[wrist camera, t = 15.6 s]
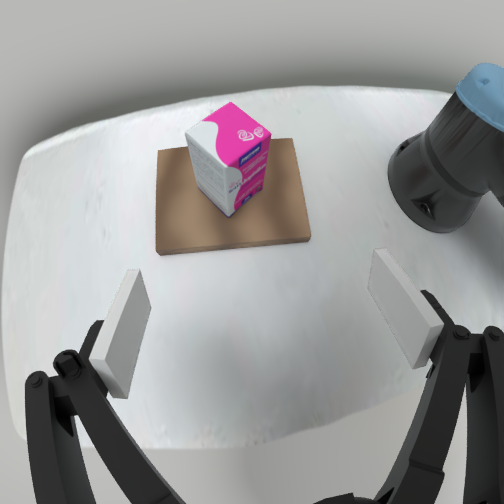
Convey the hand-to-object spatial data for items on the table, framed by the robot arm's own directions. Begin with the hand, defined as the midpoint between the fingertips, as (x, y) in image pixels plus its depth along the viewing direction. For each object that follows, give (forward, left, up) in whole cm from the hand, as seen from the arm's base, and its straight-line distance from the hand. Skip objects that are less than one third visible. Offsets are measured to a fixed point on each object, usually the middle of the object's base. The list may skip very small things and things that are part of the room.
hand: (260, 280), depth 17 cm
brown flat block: (+1, -15, -19) cm, 24 cm away
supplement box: (+1, -15, -17) cm, 22 cm away
